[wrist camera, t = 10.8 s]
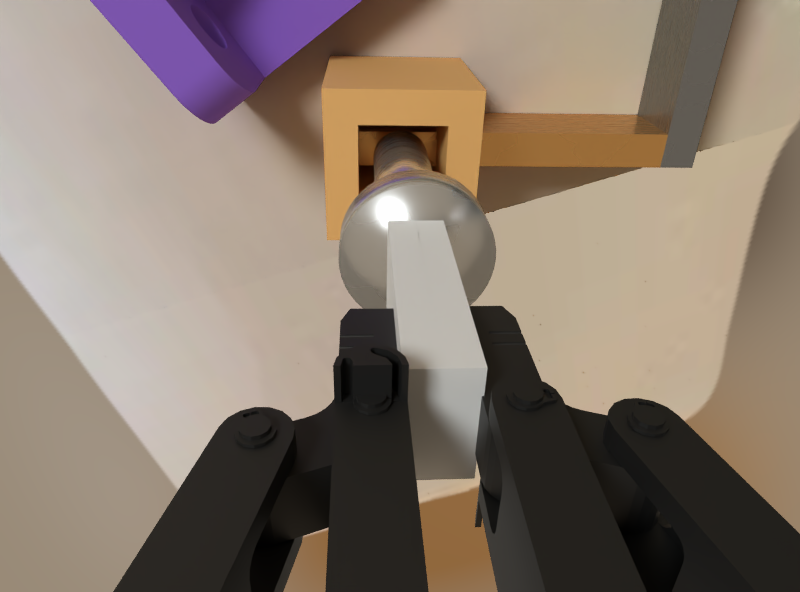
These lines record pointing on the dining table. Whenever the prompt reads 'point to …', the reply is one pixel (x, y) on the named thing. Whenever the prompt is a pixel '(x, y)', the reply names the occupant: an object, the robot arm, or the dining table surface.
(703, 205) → the dining table surface
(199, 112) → the bracket
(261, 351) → the dining table surface
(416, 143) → the round-headed metal pin
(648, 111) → the u-shaped frame
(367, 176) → the sleeve
